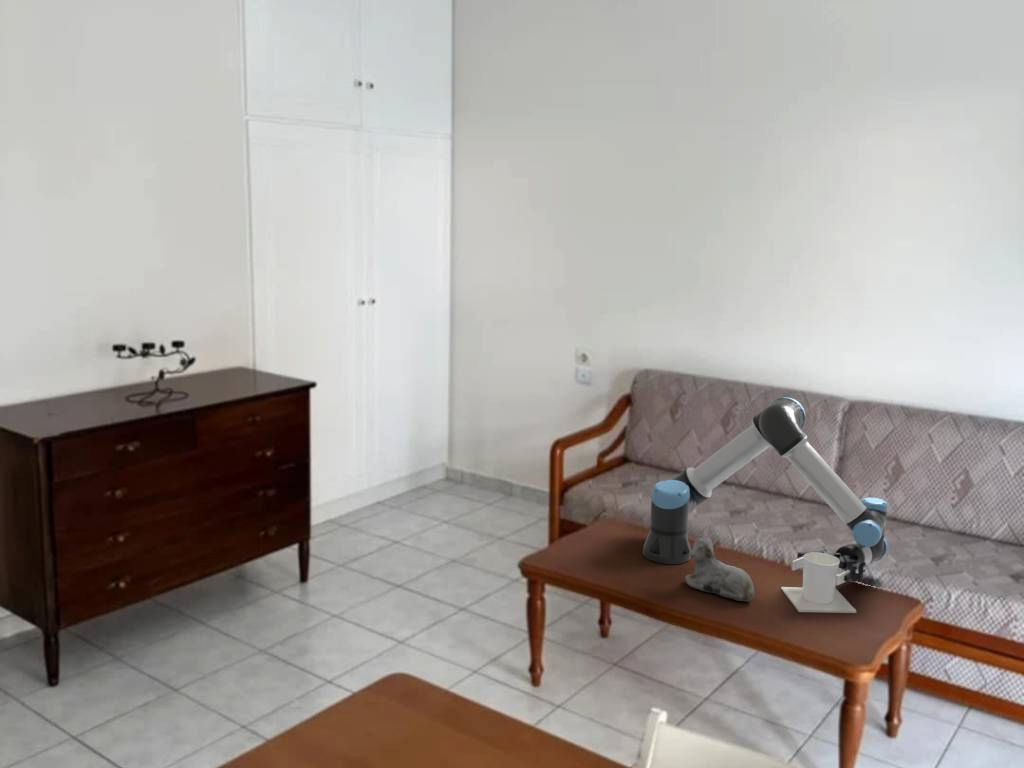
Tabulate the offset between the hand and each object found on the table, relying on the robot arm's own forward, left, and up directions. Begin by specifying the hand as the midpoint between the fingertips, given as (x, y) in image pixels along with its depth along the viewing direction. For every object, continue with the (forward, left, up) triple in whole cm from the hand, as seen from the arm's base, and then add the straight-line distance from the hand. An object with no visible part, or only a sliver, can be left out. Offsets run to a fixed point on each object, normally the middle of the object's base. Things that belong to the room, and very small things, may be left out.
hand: (814, 573), depth 263 cm
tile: (-2, +3, -9) cm, 10 cm away
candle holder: (-2, +3, -9) cm, 9 cm away
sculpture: (-7, -25, -9) cm, 27 cm away
